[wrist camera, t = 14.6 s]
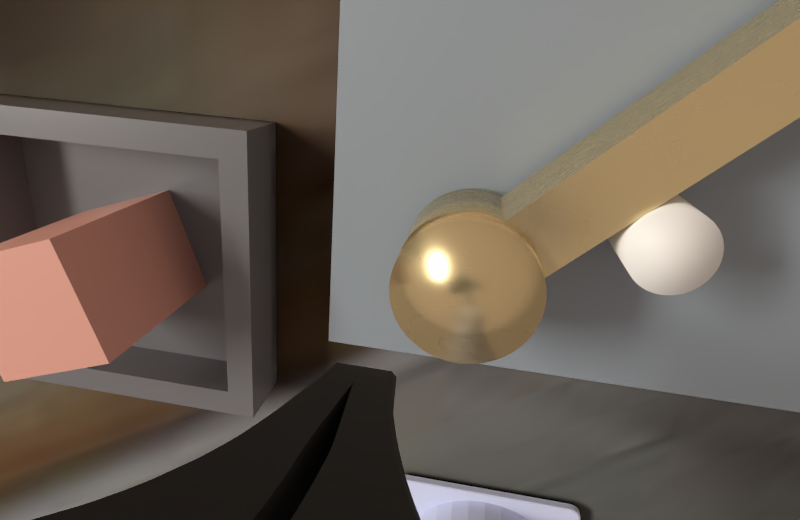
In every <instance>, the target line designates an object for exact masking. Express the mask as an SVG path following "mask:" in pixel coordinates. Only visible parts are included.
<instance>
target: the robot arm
mask: <svg viewBox="0 0 800 520" xmlns="http://www.w3.org/2000/svg"><path fill="white" fill-rule="evenodd" d="M395 385H396V376H395V375H394V374H393V372H392V371H386V370H379V369H373V368H367V367H361V366H354V365H348V364H342V363H336V364H334V365H333V366H332V367H330V368H329V369H328V370H327V371H325V372H324V373H323V374H322V375H320V376H319V377H318V378H317V379H316V380H314V381H313V382H312V383H311V384H310V385H308V386H307V387H306V388H305V389H303V390H302V391H301V392H300V393H298V394H297V395H296V396H294V397H293V398H292V399H290V400H289V401H288V402H287V403H285V404H284V405H283V406H281V407H280V408H279V409H277V410H276V411H275V412H273V413H272V414H270V415H269V416H268V417H266V418H265V419H263V420H262V421H260V422H259V423H257V424H256V425H254V426H253V427H251V428H250V429H248V430H247V431H245V432H244V433H242V434H241V435H239V436H237V437H236V438H234V439H232V440H231V441H229V442H227V443H226V444H224V445H222V446H220V447H218V448H216V449H215V450H213V451H211V452H209V453H207V454H205V455H203V456H202V457H200V458H198V459H196V460H193V461H191V462H189V463H187V464H185V465H183V466H180V467H178V468H176V469H174V470H172V471H169V472H167V473H165V474H163V475H161V476H159V477H156V478H154V479H152V480H149V481H147V482H145V483H142V484H139V485H137V486H134V487H132V488H129V489H127V490H124V491H121V492H119V493H116V494H113V495H110V496H107V497H105V498H102V499H99V500H96V501H93V502H90V503H87V504H84V505H81V506H78V507H74V508H71V509H67V510H64V511H60V512H57V513H54V514H50V515H47V516H43V517H40V518H36V519H33V520H580V512H579V510H578V508H577V507H576V506H574V505H572V504H568V503H562V502H557V501H551V500H546V499H540V498H534V497H529V496H523V495H518V494H512V493H507V492H501V491H495V490H490V489H484V488H479V487H473V486H467V485H462V484H456V483H451V482H445V481H440V480H434V479H428V478H423V477H417V476H412V475H405V473H404V469H403V465H402V461H401V457H400V453H399V449H398V444H397V438H396V432H395V425H394V418H393V407H394V396H395Z"/></svg>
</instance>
